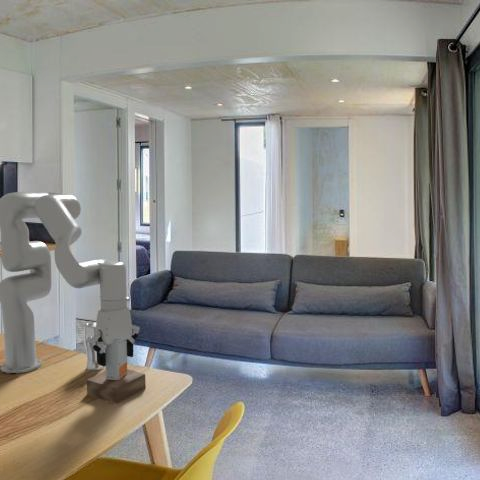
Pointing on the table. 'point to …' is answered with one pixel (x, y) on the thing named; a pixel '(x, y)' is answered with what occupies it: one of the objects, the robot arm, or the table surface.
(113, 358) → the skincare box
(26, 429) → the table surface
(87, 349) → the beer glass
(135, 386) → the walnut block
